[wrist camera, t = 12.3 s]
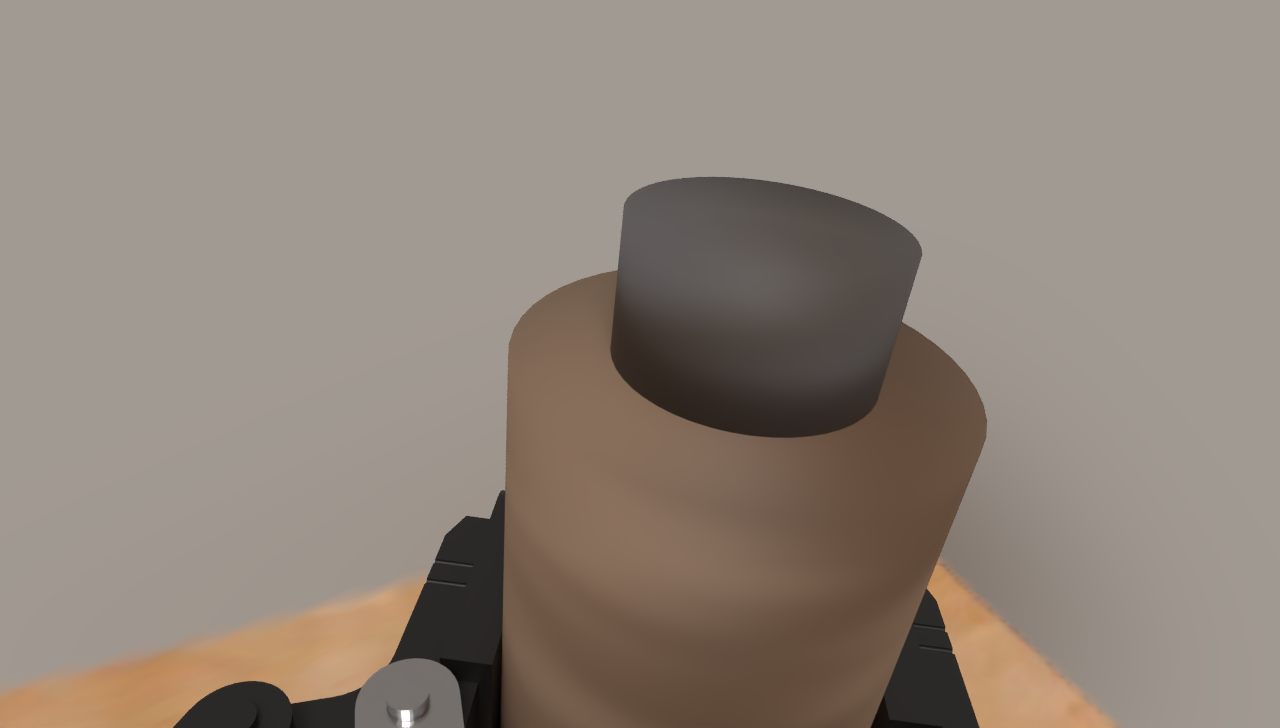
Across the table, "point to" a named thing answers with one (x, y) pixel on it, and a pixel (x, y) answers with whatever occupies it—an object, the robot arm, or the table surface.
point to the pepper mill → (727, 468)
